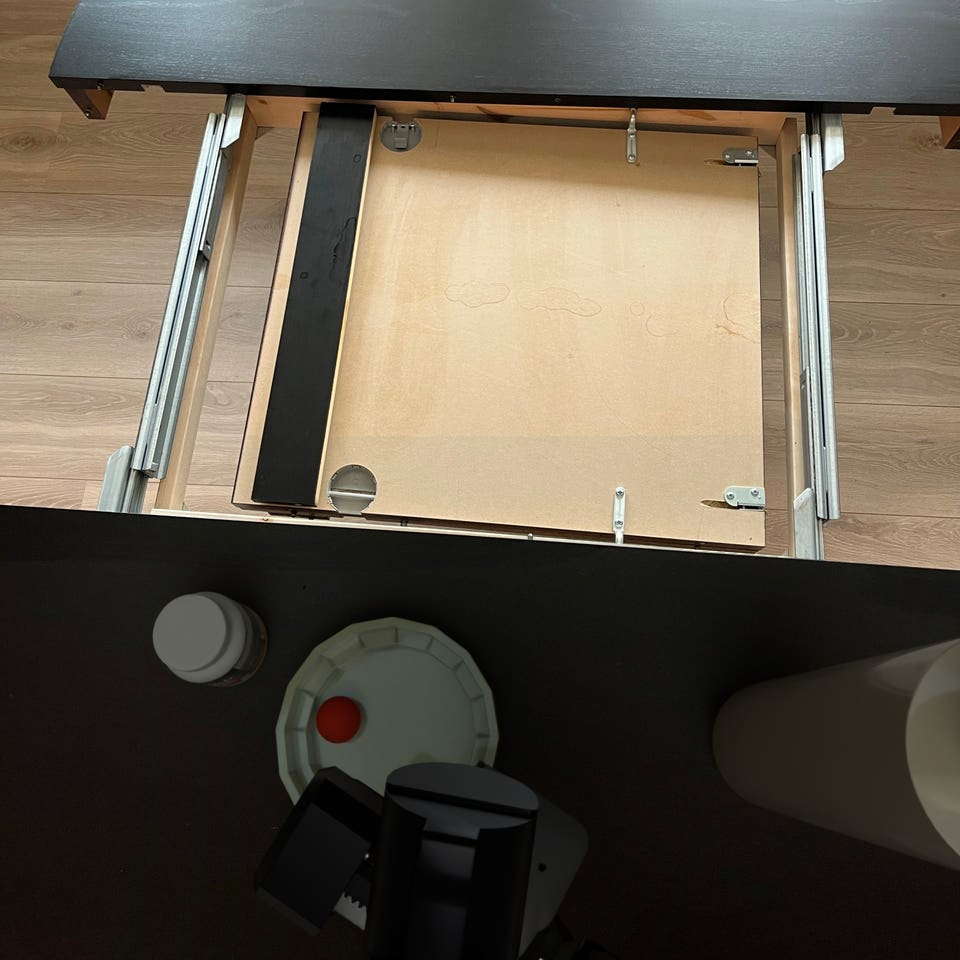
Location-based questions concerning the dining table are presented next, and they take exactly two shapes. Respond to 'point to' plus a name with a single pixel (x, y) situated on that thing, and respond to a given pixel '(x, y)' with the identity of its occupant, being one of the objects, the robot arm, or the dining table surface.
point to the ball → (338, 719)
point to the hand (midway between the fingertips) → (472, 864)
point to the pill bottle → (210, 639)
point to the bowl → (387, 705)
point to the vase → (855, 749)
